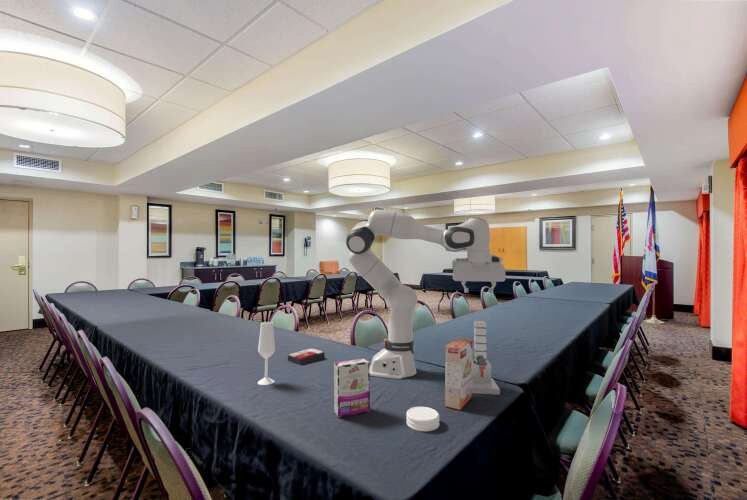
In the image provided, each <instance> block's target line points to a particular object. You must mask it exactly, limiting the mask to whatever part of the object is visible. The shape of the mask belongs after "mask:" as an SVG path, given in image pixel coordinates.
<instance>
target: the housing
mask: <svg viewBox="0 0 747 500" xmlns="http://www.w3.org/2000/svg"><path fill="white" fill-rule="evenodd" d="M472 394H476V395H478V394H479V395H496V396H497V395H498V396H500V395H501V389H500V387H499V386H498V384H497V383H496V381H495V380H494V378H492V364H491V363H490V362H489V360H488V359H487V360H486V359H485V358H479V364H474V359H472Z"/></svg>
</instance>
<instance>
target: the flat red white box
mask: <svg viewBox="0 0 747 500" xmlns="http://www.w3.org/2000/svg"><path fill="white" fill-rule="evenodd" d="M325 353H326V352H325V351H322V350H319V349H315V348H313V347H311V348H308V349H303V350H300V351H297V352H293V353H289V354H288V355H287V362H290V363H293V364H296V365H299V366H302V365H307V364H311V363H314V362H317V361H323V360H325V359H326V358H325Z"/></svg>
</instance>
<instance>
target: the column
mask: <svg viewBox="0 0 747 500" xmlns="http://www.w3.org/2000/svg"><path fill="white" fill-rule="evenodd" d="M479 358H485V359H486V360H488V359H487V322H486V321H485V320H473V360H474V364H479Z"/></svg>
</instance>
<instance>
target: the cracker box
mask: <svg viewBox="0 0 747 500" xmlns="http://www.w3.org/2000/svg"><path fill="white" fill-rule="evenodd" d="M473 353H474V340H471V339H466V338H465V339H464V338H456V339H455V340H454V341H451V342H450V343H447V344H446V345H445V353H444V355H445V356H444V357H445V362H444V363H445V365H444V367H445V368H444V371H445V375H444V376H445V378H444V379H445V380H444V383H445V385H444V386H445V387H444V407H445V408H449V409H454V410H459V411H461V410H462V409H463V408H464V407H465V405H467V403H468V402H469V401H470V400H471V399H472V398H473V393H472V360H473Z"/></svg>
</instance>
